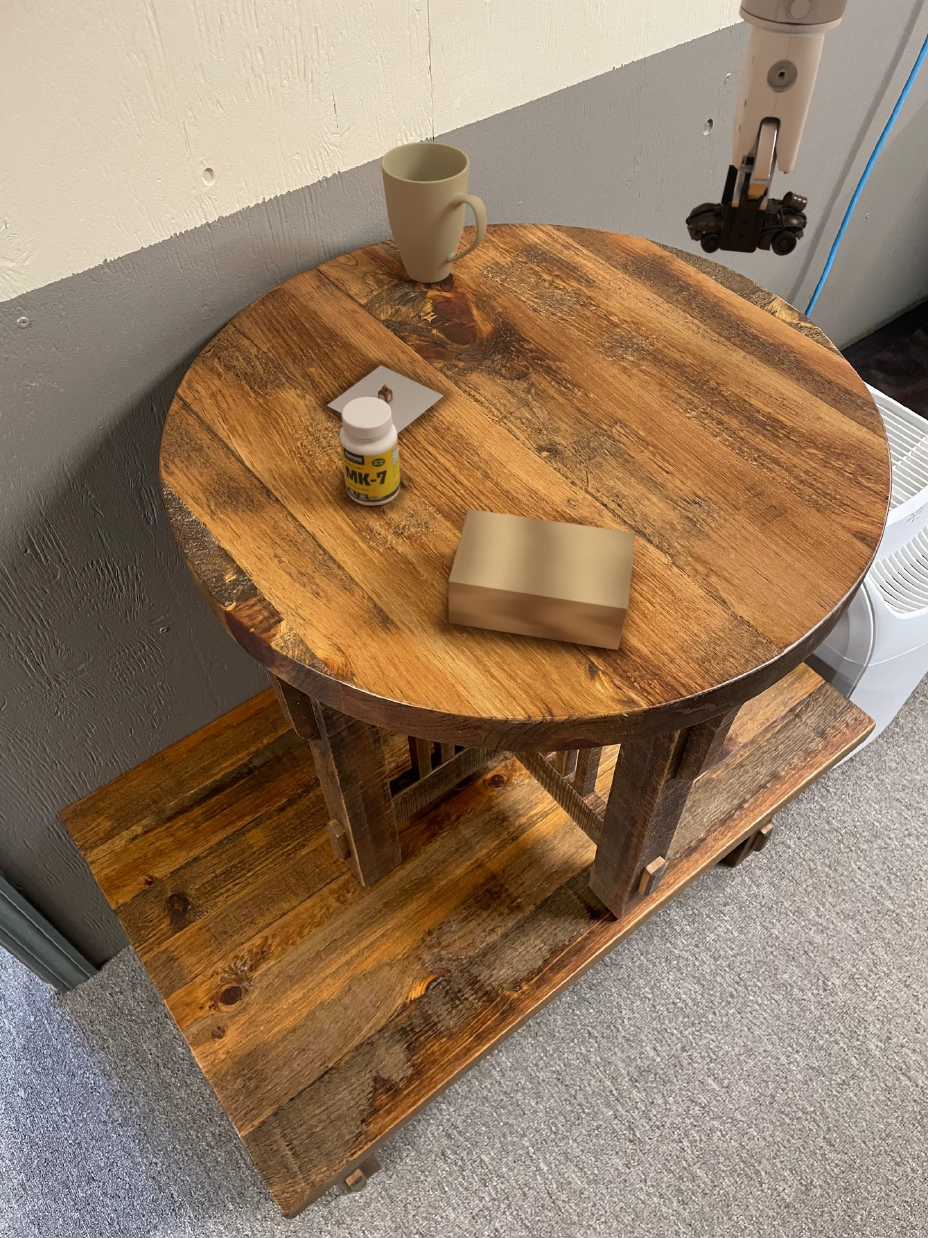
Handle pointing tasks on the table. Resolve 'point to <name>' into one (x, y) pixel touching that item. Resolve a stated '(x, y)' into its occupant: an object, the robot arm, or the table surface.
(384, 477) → the supplement bottle
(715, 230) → the toy car
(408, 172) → the mug
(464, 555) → the birch block
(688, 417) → the table surface
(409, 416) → the gray square plate
